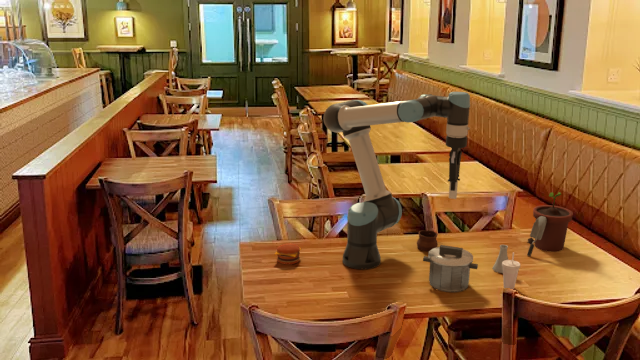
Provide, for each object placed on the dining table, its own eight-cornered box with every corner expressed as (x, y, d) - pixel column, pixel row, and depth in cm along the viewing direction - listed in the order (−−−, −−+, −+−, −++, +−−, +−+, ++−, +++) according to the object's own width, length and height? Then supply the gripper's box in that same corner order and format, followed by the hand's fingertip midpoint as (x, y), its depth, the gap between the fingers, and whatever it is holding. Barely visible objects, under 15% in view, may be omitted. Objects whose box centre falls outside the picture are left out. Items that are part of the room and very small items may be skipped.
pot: (418, 287, 227) (419, 262, 224) (426, 272, 240) (427, 248, 237) (472, 296, 220) (475, 270, 218) (478, 280, 233) (480, 255, 230)
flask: (512, 274, 238) (514, 250, 235) (492, 273, 239) (494, 248, 237) (510, 267, 245) (512, 243, 242) (491, 265, 246) (493, 241, 243)
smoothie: (508, 293, 223) (512, 256, 219) (496, 285, 229) (499, 250, 225) (521, 289, 226) (525, 253, 222) (509, 282, 231) (512, 247, 227)
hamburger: (296, 265, 245) (296, 250, 243) (273, 263, 248) (273, 248, 246) (303, 256, 254) (303, 241, 252) (280, 254, 256) (280, 239, 254)
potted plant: (577, 254, 257) (585, 197, 250) (527, 257, 254) (534, 198, 247) (557, 238, 274) (563, 184, 267) (509, 240, 271) (515, 185, 264)
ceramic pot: (425, 237, 275) (426, 222, 273) (457, 249, 262) (458, 234, 260) (396, 247, 265) (397, 232, 262) (428, 261, 251) (429, 245, 249)
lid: (424, 263, 223) (424, 252, 222) (433, 247, 237) (433, 236, 236) (469, 270, 217) (470, 259, 216) (475, 253, 232) (476, 242, 230)
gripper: (464, 140, 216) (460, 204, 223) (470, 132, 228) (465, 194, 235) (443, 138, 219) (439, 202, 226) (449, 131, 231) (445, 192, 237)
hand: (452, 197), depth 230 cm, fingers closed
